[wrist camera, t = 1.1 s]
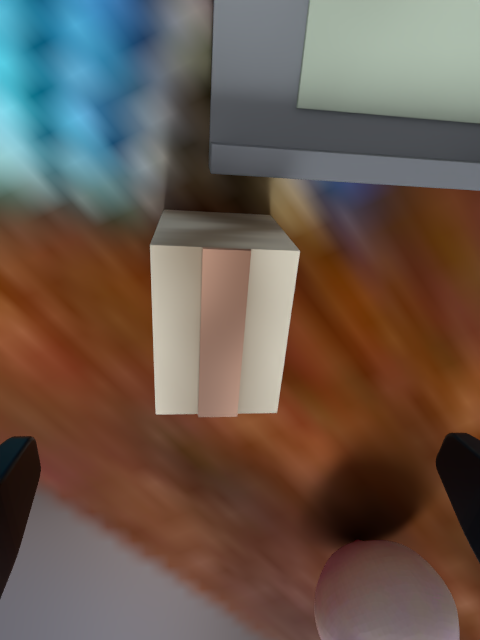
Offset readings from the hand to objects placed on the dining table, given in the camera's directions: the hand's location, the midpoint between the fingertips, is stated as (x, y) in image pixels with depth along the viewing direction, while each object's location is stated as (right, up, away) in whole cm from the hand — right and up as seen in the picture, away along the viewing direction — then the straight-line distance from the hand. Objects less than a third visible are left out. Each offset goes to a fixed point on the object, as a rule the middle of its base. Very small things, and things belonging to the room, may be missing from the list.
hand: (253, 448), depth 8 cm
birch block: (-2, +5, +11) cm, 12 cm away
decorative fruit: (+9, -14, +22) cm, 28 cm away
